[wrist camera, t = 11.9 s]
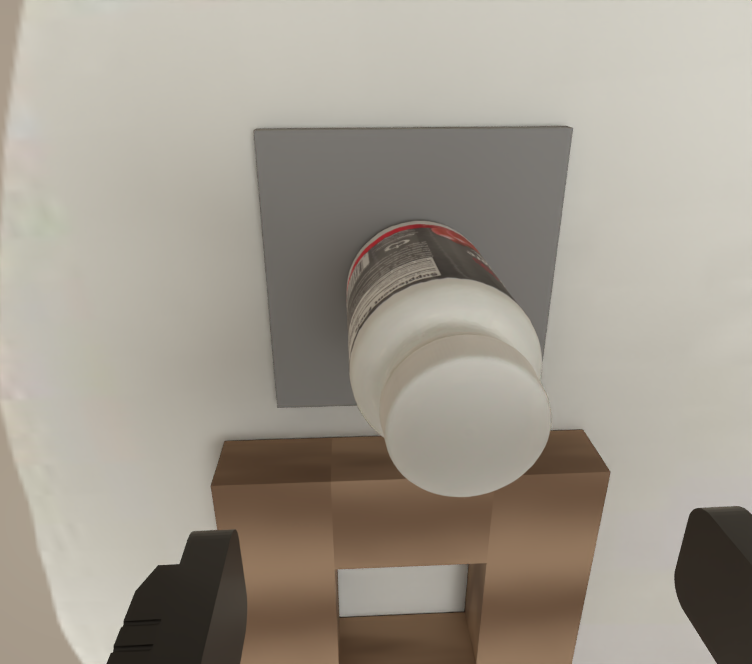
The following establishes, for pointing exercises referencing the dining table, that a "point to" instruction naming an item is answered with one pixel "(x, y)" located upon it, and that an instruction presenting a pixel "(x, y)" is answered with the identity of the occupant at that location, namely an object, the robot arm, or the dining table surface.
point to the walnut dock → (408, 551)
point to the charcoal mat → (389, 208)
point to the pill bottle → (444, 361)
